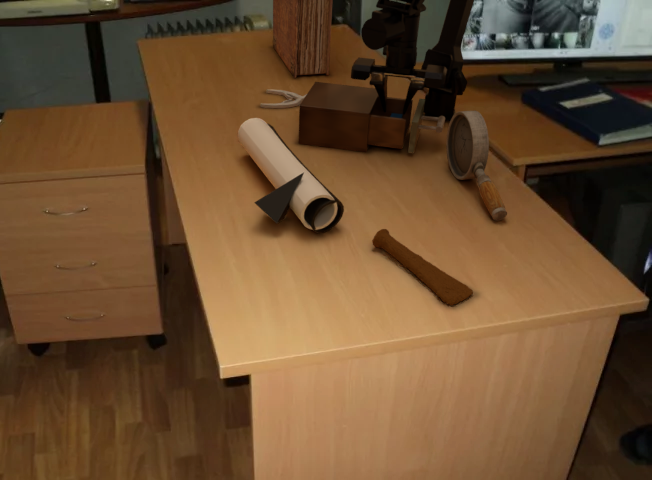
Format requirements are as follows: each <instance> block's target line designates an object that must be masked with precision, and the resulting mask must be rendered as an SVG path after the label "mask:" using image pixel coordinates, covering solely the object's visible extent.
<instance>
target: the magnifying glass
mask: <svg viewBox="0 0 652 480" xmlns="http://www.w3.org/2000/svg"><path fill="white" fill-rule="evenodd" d="M445 142H446V143H445V146H446V156H447V162H448V166H449V170H450V171H451V173H452V175H453V176H454V178H456V179H457V180H460V181H462V180H464V181H465V180H474V179H476V183H477V187H478V190H479V193H480V196H481V199H482V201H483V203H484V205H485V208H486V209H487V211H488V213H489V215H490V216H491V218H492V219H493V221H497V222H498V221H502V220H504V219H505V218H506V217H507V216H508V211H507V210H506V206H505V204H504V202H503V198H502V196H501V195H500V193H499V191H498V188H497V187H496V185H495V184H494V183H493V182H492V180H491V178H490V176H489V175H487V174H486V172H485V170H486V167H487V163H488V159H489V152H490V138H489V130H488V127H487V122H486V120H485V118H484V117H483V115H482V114H481V112H479V111H477V110H462V111H461V110H459V111H457V112H455V113H454V115H453V117H452V119H451V121H449V124H448V127H447V133H446V141H445Z"/></svg>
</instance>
